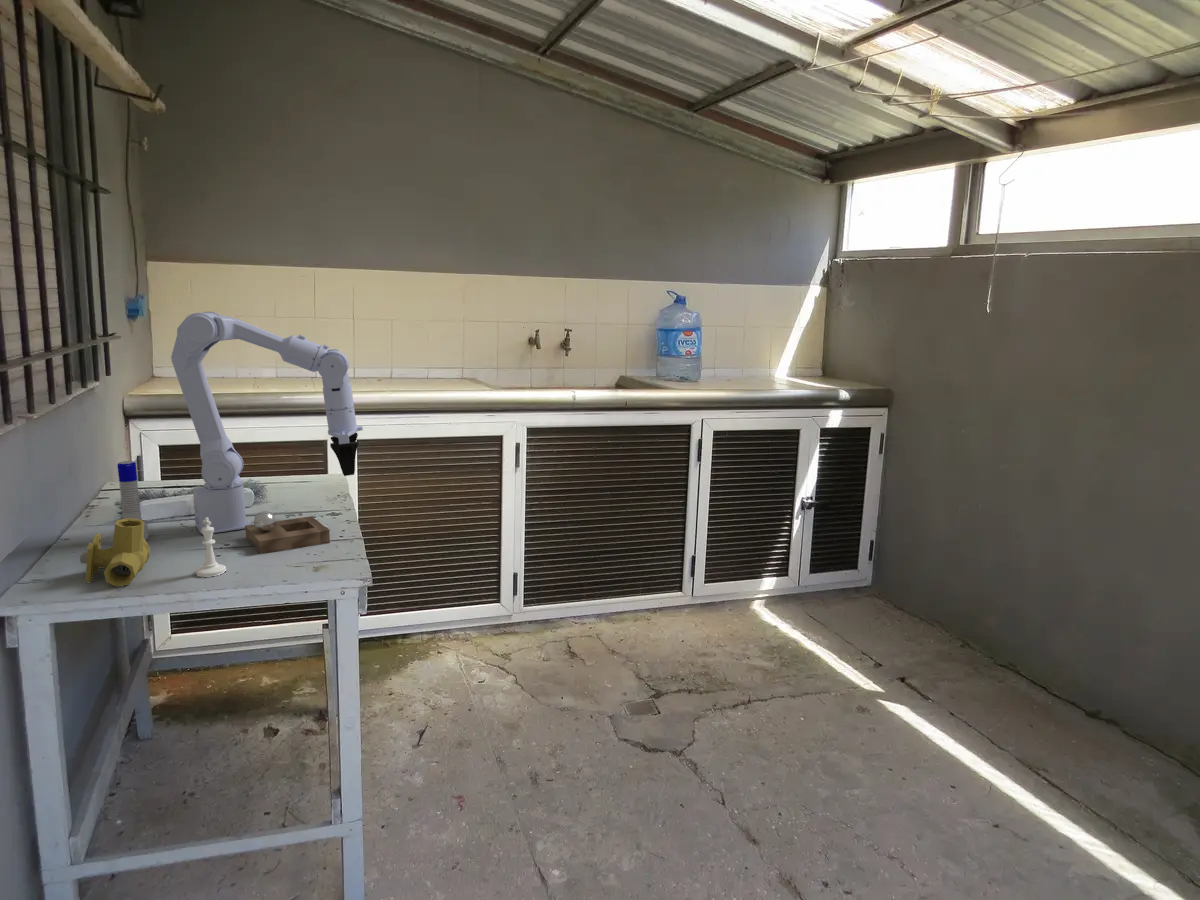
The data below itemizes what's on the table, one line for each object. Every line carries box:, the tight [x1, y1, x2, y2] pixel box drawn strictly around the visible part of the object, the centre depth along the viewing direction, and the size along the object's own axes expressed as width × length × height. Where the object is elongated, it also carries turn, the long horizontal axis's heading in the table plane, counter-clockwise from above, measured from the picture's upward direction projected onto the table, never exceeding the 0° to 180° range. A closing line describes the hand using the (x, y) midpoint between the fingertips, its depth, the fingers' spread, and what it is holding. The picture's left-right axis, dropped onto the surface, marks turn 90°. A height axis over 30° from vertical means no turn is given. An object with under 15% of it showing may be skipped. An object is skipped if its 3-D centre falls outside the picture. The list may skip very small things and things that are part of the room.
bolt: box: [117, 460, 149, 541], centre depth 158 cm, size 16×5×5 cm
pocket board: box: [244, 515, 331, 555], centre depth 161 cm, size 13×12×2 cm
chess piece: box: [195, 517, 227, 578], centre depth 141 cm, size 5×5×10 cm
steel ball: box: [253, 510, 277, 532], centre depth 158 cm, size 4×4×4 cm
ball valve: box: [79, 518, 151, 587], centre depth 139 cm, size 13×10×10 cm
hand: (348, 471), depth 172 cm, fingers open, 7 cm apart
